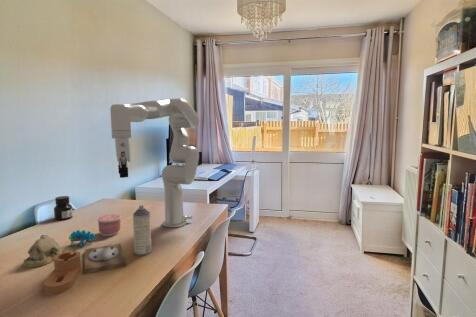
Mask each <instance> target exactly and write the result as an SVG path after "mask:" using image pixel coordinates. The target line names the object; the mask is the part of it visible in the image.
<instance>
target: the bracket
mask: <svg viewBox="0 0 476 317" xmlns="http://www.w3.org/2000/svg"><path fill="white" fill-rule="evenodd" d="M53 263H54V268H53V270H52V271H51V273H50V274H49V275H48V276H47V278H46V279H45V281H44V283H43V287H44V293H45V294H49V295H57V294H62V293H65V292H67V291H69V290H70V289H71V288H73V287H74V284H75V282H76V281H77V279H78V278H79V276H80V275H81V273H82V260H81V252H80V251H79V250H74V251H73V252H71V250H68V251H63V252H62V253H60V254H58V255H56V256H55V257H54V260H53Z"/></svg>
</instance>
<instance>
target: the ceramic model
mask: <svg viewBox="0 0 476 317" xmlns="http://www.w3.org/2000/svg"><path fill="white" fill-rule="evenodd" d="M60 253H63V252H62V251H61V246H60V245H59V244H58V242H57V241H56V240H55V239H54V238H52V237H51V236H49V235H48V234H42V235H40V237H39V238H38V239H36V240H35V242H34V243H33V244H32V245H31V246H30V248H29V249H28V251H27V254H28V255H29V256H28V257H27V258H25V259H23V261H22V262H23V265H24V266H25V267H26V268H36V267H41V266H42V267H43V266H44V265H47V264H50V263H51V262H52V261H54V257H55V256H56V255H58V254H60Z"/></svg>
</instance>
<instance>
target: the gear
mask: <svg viewBox="0 0 476 317" xmlns="http://www.w3.org/2000/svg"><path fill="white" fill-rule="evenodd" d="M68 237H69V238H68V240H70V247H73V244H74V243H75V242H80V243H79V246H78V247H80V248H81V247H83V243H84V242H85V241H86V242H90V241H94V239H95V238H96V235H95V233H93V232H92V231H89V230H88V231H87V232H86V230H79V229H78V230H76V231H72V233H70V235H69V236H68Z"/></svg>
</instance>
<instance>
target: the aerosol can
mask: <svg viewBox="0 0 476 317" xmlns="http://www.w3.org/2000/svg"><path fill="white" fill-rule="evenodd" d="M132 223H133V224H132V225H133V226H132V227H133V245H134V246H133V247H134V248H133V250H134V255H136V256H138V257H141V256H142V257H143V256H146V255H150V254H151V253H152V229H151V228H152V227H151V226H152V224H151V213H150V211H149V210H148V209H146V208H145V207H144V205H143V204H142V205H141V204H140V205H139V206H138V208H137V209H136V210H135V211H134V213H133V214H132Z"/></svg>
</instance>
